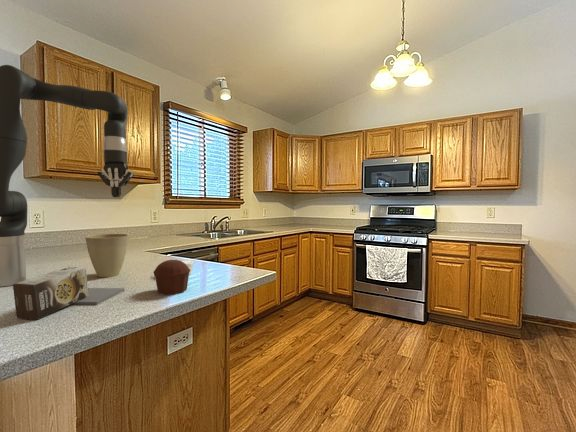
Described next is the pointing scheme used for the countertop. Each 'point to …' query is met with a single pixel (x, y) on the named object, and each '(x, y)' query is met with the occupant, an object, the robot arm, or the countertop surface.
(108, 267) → the plant pot
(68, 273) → the coffee box
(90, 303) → the mat
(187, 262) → the ramekin
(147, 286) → the countertop surface
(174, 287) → the muffin
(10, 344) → the countertop surface
